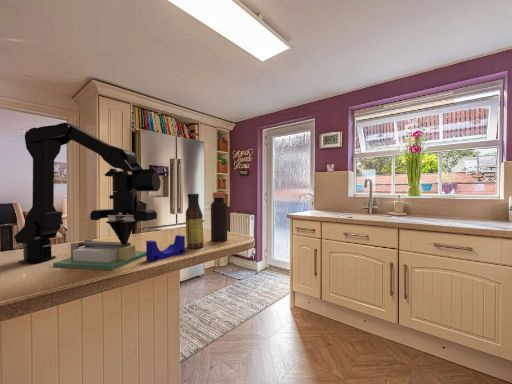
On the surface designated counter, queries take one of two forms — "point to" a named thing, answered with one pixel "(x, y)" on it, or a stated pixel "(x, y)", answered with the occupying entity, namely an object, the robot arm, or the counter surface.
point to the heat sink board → (97, 264)
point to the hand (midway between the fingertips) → (124, 243)
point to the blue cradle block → (172, 250)
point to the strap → (103, 244)
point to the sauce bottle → (194, 222)
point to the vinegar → (218, 217)
